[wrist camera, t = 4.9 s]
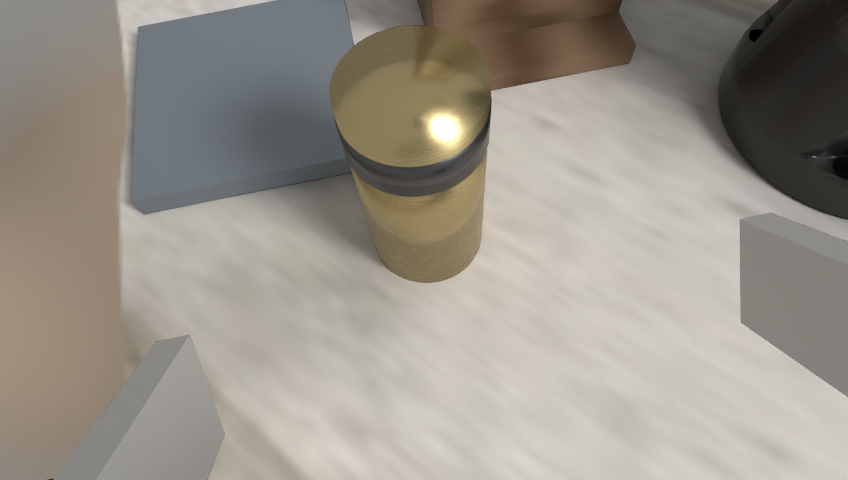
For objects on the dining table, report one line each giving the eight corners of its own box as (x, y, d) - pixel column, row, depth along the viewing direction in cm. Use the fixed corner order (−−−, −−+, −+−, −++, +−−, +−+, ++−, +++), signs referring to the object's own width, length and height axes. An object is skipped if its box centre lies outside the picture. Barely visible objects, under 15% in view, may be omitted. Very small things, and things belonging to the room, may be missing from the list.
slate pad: (346, 5, 40) (342, -12, 39) (378, 166, 34) (374, 152, 33) (149, 43, 40) (138, 26, 38) (143, 214, 33) (130, 201, 32)
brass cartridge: (468, 177, 33) (470, 11, 22) (494, 270, 30) (512, 132, 20) (365, 198, 33) (318, 41, 22) (383, 294, 30) (339, 167, 20)
